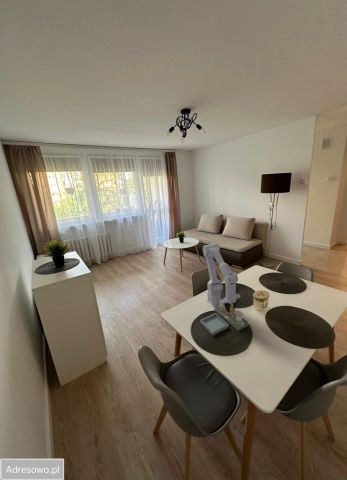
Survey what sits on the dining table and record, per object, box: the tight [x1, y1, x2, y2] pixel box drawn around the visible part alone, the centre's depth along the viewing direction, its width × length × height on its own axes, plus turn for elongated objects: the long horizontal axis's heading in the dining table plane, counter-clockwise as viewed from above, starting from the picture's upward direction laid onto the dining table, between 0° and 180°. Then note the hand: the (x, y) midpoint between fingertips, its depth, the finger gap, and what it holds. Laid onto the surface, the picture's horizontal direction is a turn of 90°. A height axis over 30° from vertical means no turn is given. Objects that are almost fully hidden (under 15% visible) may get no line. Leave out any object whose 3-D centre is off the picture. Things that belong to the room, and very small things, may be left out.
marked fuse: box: [227, 302, 234, 314], centre depth 119 cm, size 4×4×7 cm
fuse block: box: [213, 305, 249, 332], centre depth 120 cm, size 22×8×3 cm, turn 27°
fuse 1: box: [220, 298, 225, 311], centre depth 126 cm, size 4×4×7 cm
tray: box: [199, 312, 230, 337], centre depth 115 cm, size 12×12×2 cm
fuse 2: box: [235, 310, 243, 325], centre depth 113 cm, size 4×4×7 cm
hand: (230, 310), depth 119 cm, fingers closed on marked fuse, 3 cm apart
